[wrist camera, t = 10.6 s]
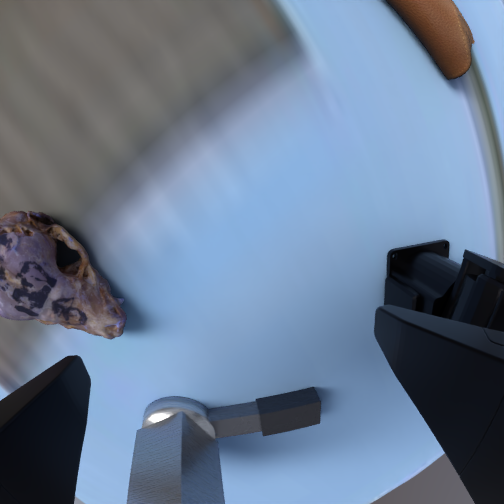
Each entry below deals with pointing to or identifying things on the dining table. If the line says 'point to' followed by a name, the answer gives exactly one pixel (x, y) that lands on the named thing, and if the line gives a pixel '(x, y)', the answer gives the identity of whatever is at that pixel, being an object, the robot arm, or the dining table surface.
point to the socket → (175, 464)
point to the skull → (52, 279)
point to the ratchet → (244, 414)
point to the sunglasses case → (439, 32)
